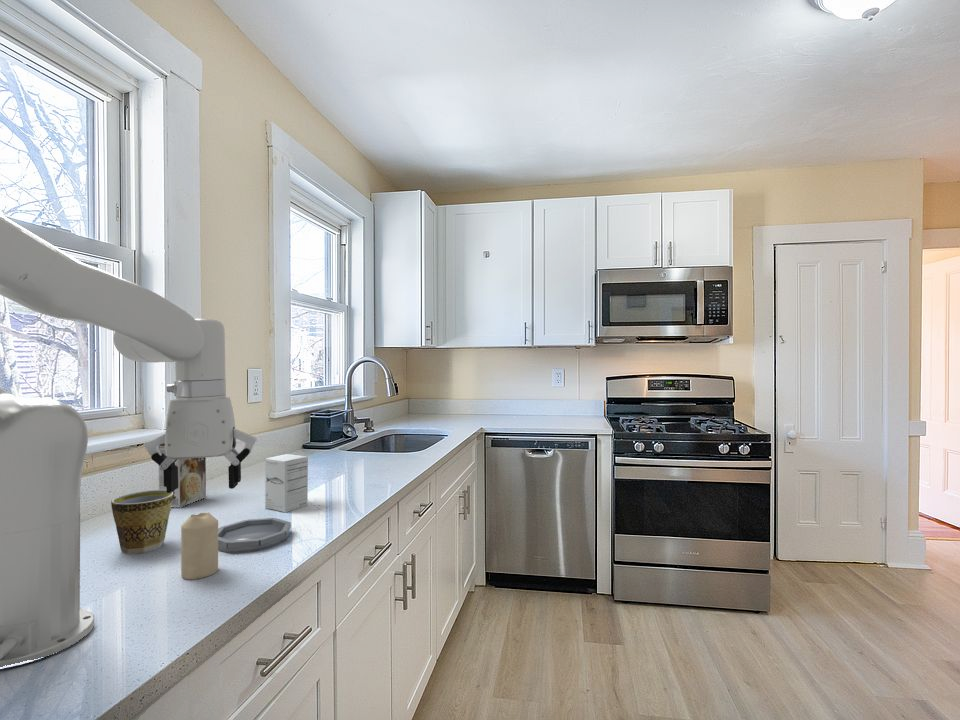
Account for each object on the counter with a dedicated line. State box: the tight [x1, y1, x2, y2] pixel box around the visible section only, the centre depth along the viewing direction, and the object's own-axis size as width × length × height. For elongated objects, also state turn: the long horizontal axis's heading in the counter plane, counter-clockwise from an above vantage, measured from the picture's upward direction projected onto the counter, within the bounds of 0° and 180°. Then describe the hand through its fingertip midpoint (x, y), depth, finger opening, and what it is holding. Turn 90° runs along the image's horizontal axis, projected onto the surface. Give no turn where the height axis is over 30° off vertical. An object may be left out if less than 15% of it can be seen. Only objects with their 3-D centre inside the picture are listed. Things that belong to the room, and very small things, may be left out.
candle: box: [180, 512, 219, 580], centre depth 83 cm, size 6×6×10 cm
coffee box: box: [158, 443, 207, 508], centre depth 125 cm, size 9×6×16 cm
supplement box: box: [264, 453, 309, 513], centre depth 121 cm, size 7×7×13 cm
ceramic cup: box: [110, 489, 173, 555], centre depth 95 cm, size 13×10×10 cm
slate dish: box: [218, 517, 292, 554], centre depth 99 cm, size 14×14×2 cm
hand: (203, 488), depth 83 cm, fingers open, 9 cm apart
